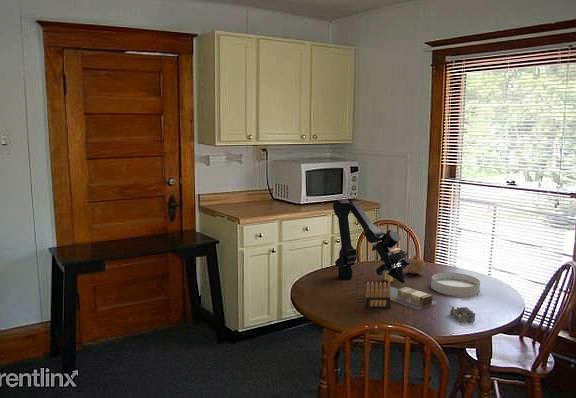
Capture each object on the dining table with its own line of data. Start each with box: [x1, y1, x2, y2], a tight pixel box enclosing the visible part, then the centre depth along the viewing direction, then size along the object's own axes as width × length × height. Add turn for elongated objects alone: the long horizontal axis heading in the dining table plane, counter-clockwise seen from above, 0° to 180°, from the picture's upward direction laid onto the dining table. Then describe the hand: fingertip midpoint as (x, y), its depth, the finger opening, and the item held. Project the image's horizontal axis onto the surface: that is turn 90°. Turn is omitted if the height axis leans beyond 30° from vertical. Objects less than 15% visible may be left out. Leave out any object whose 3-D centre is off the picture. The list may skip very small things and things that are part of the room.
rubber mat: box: [382, 286, 438, 311], centre depth 235 cm, size 26×14×1 cm, turn 39°
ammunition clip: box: [364, 280, 391, 310], centre depth 222 cm, size 11×2×12 cm, turn 90°
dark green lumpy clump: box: [449, 304, 477, 324], centre depth 213 cm, size 11×8×4 cm
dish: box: [430, 272, 481, 298], centre depth 248 cm, size 22×22×5 cm
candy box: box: [383, 247, 404, 283], centre depth 260 cm, size 9×4×15 cm, turn 129°
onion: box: [405, 254, 426, 275], centre depth 270 cm, size 10×9×10 cm
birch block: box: [397, 286, 433, 308], centre depth 230 cm, size 4×6×14 cm
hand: (403, 282), depth 234 cm, fingers closed
